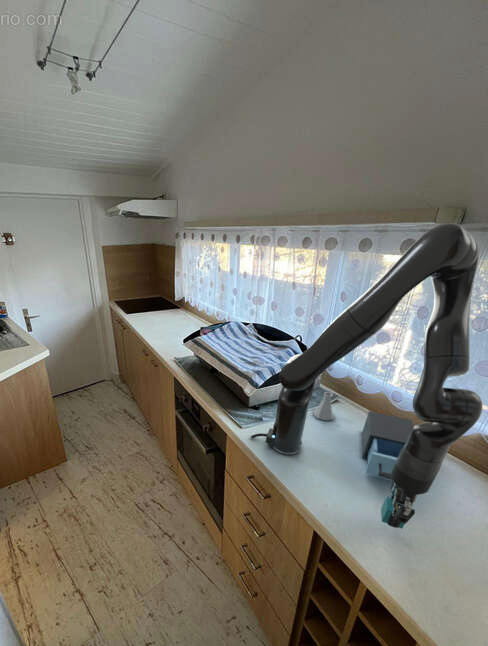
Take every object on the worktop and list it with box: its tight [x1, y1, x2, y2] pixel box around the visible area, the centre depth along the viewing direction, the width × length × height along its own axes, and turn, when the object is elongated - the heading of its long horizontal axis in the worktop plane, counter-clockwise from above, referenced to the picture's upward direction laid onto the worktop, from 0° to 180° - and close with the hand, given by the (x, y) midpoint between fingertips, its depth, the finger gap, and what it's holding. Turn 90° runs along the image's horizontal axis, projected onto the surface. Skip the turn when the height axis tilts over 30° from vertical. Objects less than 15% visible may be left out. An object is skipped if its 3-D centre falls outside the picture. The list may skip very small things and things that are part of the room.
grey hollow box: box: [361, 410, 414, 460], centre depth 101 cm, size 15×13×10 cm
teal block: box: [380, 496, 406, 529], centre depth 76 cm, size 4×4×4 cm
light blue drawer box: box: [364, 437, 404, 482], centre depth 92 cm, size 18×11×8 cm, turn 154°
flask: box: [313, 391, 334, 421], centre depth 119 cm, size 7×7×10 cm
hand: (391, 517), depth 76 cm, fingers closed on teal block, 4 cm apart
